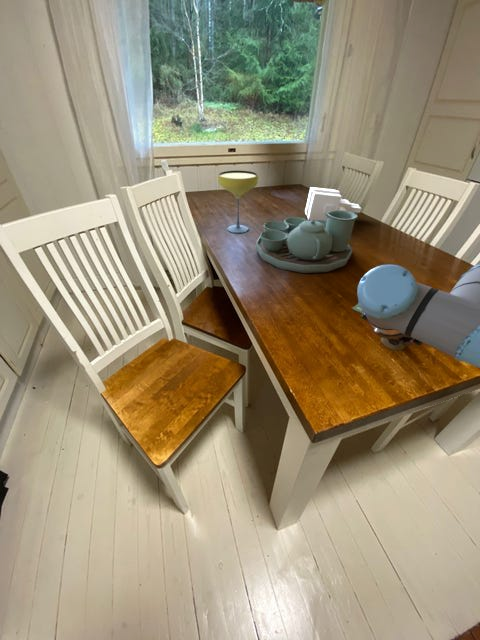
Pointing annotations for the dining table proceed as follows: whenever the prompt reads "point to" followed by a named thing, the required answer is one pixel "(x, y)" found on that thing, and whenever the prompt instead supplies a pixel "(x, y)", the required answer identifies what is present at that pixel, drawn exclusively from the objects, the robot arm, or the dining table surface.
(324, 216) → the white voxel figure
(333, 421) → the dining table surface
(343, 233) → the tea set
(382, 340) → the cork
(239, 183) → the cocktail glass
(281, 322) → the dining table surface
